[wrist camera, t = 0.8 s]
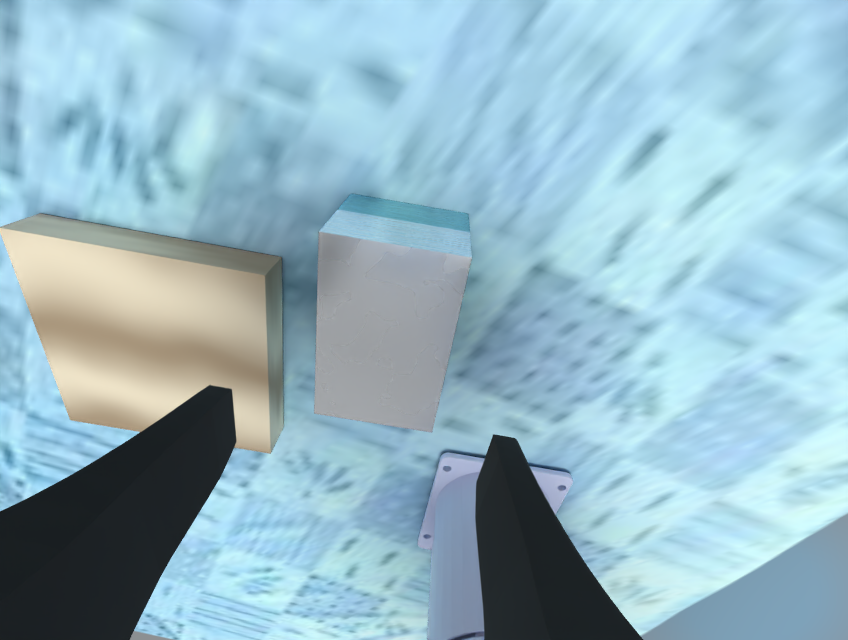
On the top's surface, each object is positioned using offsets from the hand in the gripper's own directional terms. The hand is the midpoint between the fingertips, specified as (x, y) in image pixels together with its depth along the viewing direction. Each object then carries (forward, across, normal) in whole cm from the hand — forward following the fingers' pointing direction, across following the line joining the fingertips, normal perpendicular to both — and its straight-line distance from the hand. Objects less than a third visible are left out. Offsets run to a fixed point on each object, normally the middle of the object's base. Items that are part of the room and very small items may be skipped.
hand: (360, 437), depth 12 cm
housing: (+10, 0, 0) cm, 10 cm away
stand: (+9, +11, +5) cm, 15 cm away
